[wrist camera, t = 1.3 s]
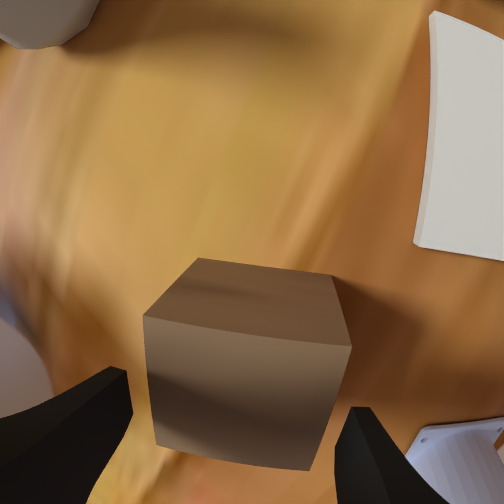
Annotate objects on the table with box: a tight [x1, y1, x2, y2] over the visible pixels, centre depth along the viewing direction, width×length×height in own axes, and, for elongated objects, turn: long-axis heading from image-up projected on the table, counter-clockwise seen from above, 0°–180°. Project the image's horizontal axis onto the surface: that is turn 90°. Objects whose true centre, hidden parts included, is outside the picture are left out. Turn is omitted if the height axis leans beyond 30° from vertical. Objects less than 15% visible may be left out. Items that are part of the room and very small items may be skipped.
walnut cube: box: [143, 258, 352, 471], centre depth 12 cm, size 6×6×6 cm
